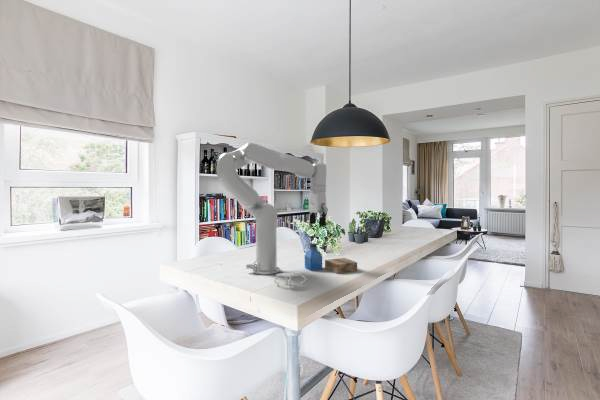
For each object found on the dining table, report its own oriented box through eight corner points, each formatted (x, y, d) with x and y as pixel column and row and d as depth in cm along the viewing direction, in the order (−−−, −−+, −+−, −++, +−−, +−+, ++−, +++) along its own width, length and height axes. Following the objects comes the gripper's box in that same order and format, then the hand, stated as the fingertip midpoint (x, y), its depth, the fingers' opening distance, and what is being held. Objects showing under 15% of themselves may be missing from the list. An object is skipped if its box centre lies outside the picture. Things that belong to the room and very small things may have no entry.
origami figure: (281, 291, 125) (281, 278, 125) (273, 285, 133) (273, 273, 133) (309, 287, 131) (309, 274, 130) (300, 281, 138) (300, 269, 138)
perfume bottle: (310, 271, 155) (310, 245, 155) (304, 268, 160) (304, 243, 160) (322, 269, 158) (322, 244, 157) (315, 266, 163) (315, 242, 163)
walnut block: (336, 273, 150) (336, 264, 150) (325, 268, 160) (325, 259, 160) (357, 270, 155) (357, 262, 155) (344, 265, 165) (344, 257, 165)
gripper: (303, 188, 166) (302, 223, 166) (320, 189, 150) (319, 226, 151) (316, 189, 169) (315, 222, 169) (334, 189, 153) (333, 226, 154)
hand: (317, 224), depth 160 cm, fingers open, 9 cm apart
